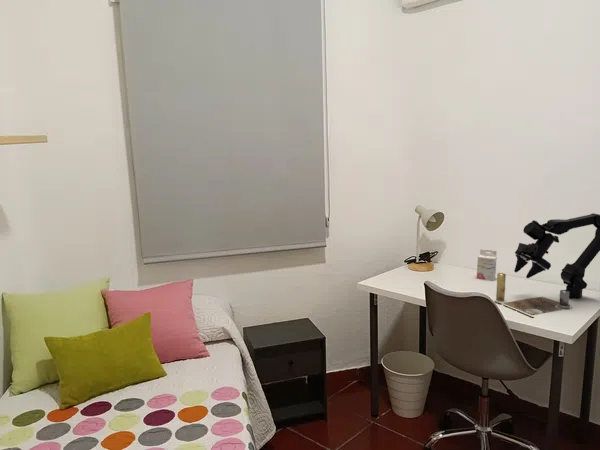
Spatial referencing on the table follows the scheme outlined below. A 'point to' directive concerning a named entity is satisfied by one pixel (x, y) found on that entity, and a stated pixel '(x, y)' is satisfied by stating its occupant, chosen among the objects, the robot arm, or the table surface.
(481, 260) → the ink cartridge box
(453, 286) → the table surface
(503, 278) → the brass pin
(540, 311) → the brown flat sheet
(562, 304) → the fixed pin
